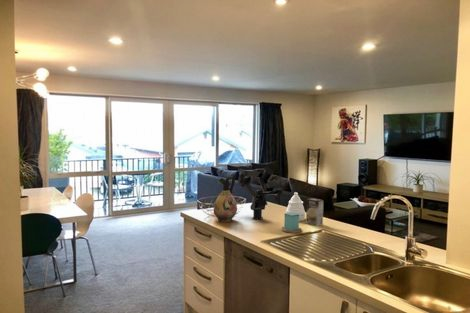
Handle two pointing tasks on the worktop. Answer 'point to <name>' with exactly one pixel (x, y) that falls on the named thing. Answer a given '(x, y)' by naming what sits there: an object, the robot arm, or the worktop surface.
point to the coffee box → (314, 212)
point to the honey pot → (296, 207)
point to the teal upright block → (291, 221)
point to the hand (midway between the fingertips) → (273, 204)
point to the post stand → (291, 231)
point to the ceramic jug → (225, 201)
